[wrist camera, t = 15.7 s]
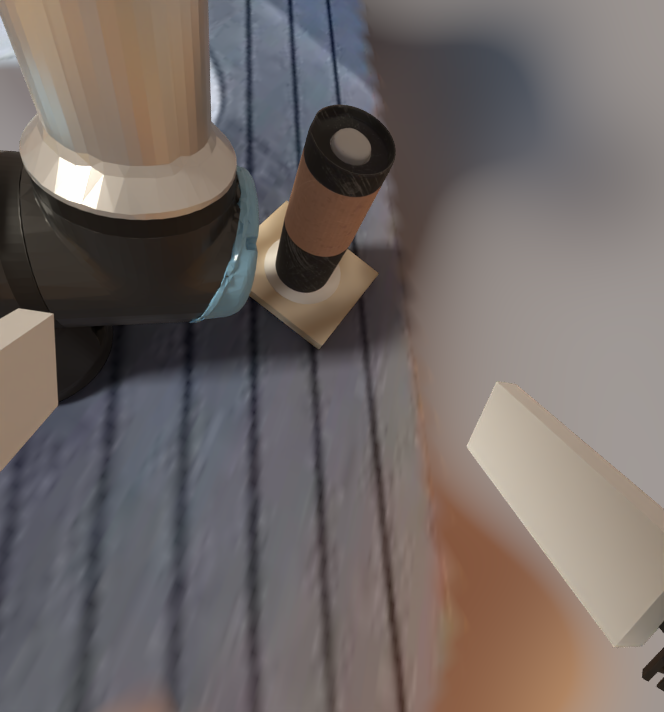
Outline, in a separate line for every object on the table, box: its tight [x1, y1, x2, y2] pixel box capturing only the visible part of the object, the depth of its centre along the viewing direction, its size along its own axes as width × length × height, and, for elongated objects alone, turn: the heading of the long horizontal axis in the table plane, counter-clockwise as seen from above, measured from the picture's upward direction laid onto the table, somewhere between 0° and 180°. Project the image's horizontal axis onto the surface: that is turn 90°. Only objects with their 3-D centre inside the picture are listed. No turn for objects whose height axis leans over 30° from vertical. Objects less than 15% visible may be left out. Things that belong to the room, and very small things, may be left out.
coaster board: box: [249, 201, 379, 350], centre depth 50 cm, size 16×14×2 cm
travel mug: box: [275, 105, 395, 293], centre depth 40 cm, size 8×8×20 cm
